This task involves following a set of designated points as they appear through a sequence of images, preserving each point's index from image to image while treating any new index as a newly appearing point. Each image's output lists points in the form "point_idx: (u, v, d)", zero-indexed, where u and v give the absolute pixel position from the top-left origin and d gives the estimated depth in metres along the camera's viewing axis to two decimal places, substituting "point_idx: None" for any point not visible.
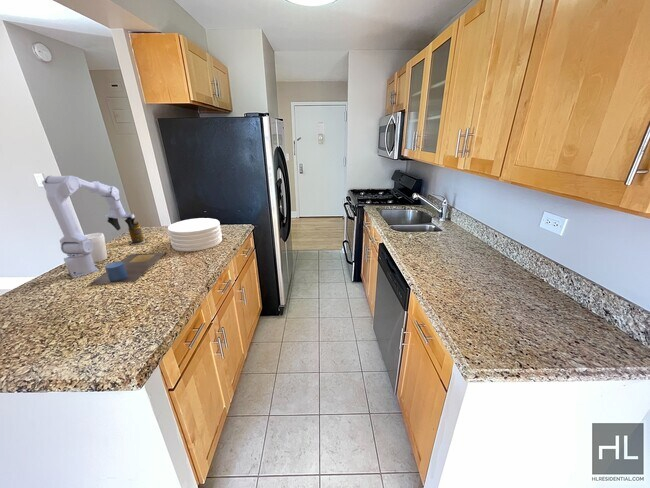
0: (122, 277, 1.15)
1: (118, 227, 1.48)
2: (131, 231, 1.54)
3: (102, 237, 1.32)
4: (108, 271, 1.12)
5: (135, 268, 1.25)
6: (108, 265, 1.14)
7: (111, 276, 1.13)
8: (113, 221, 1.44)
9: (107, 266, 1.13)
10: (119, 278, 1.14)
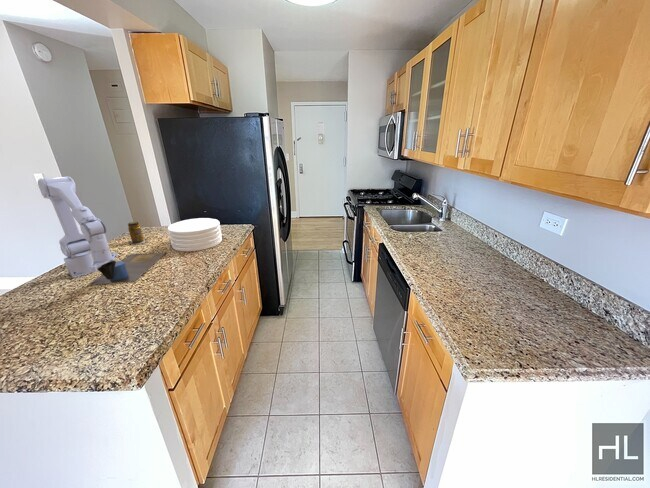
0: (123, 276, 1.16)
1: None
2: (131, 231, 1.54)
3: None
4: None
5: (135, 268, 1.25)
6: None
7: None
8: None
9: None
10: (120, 277, 1.15)
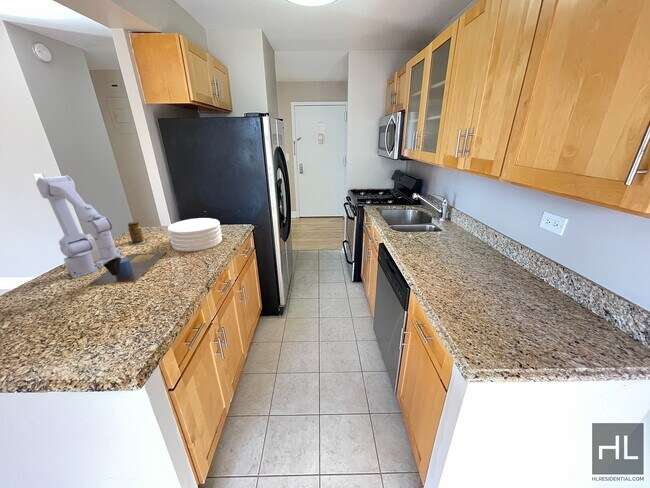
0: (128, 273, 1.19)
1: None
2: (131, 231, 1.54)
3: None
4: None
5: (135, 268, 1.25)
6: None
7: None
8: None
9: None
10: (125, 274, 1.18)
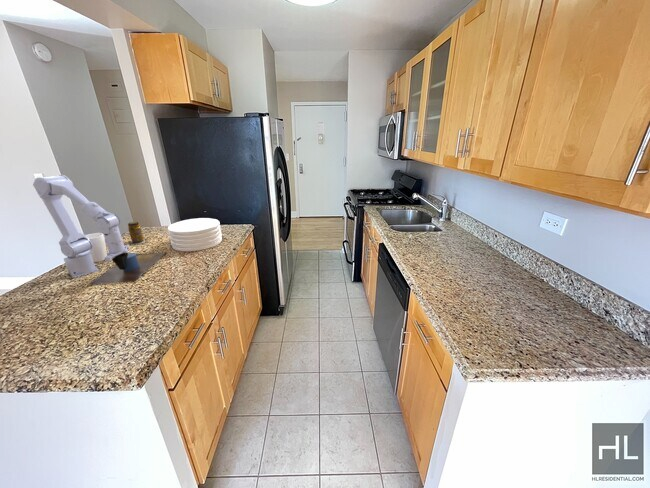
0: (135, 267, 1.24)
1: None
2: (131, 231, 1.54)
3: (102, 237, 1.32)
4: None
5: None
6: None
7: None
8: None
9: None
10: (132, 268, 1.23)
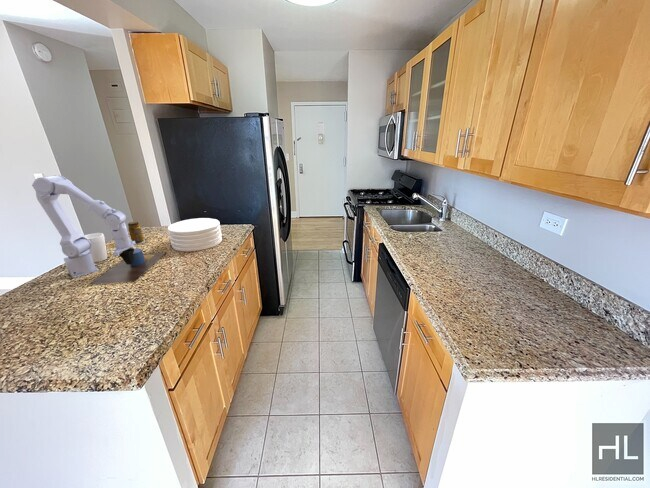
0: (141, 262, 1.29)
1: None
2: (131, 231, 1.54)
3: (102, 237, 1.32)
4: None
5: (135, 268, 1.25)
6: None
7: None
8: None
9: None
10: (139, 263, 1.29)
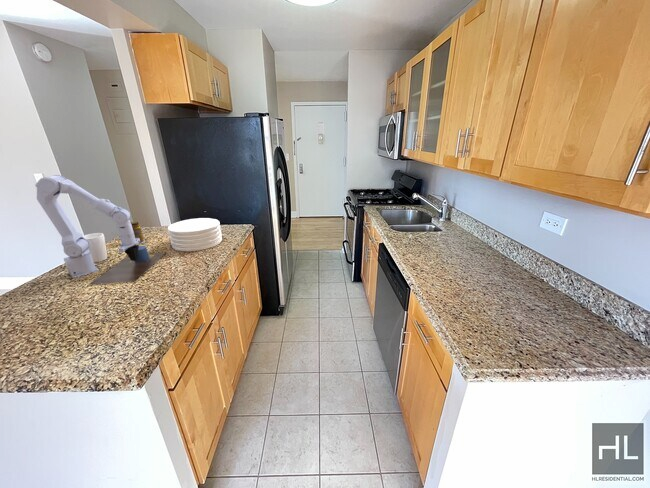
0: (146, 258, 1.33)
1: None
2: None
3: (102, 237, 1.32)
4: None
5: (135, 268, 1.25)
6: None
7: (137, 258, 1.31)
8: None
9: None
10: (144, 259, 1.33)
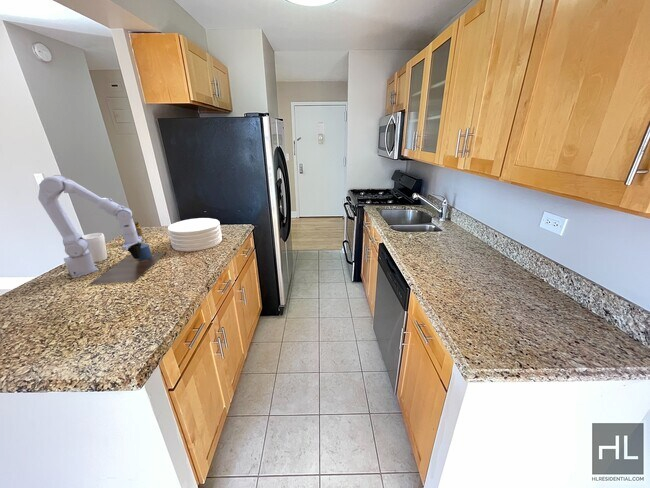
0: (149, 256, 1.36)
1: None
2: None
3: (102, 237, 1.32)
4: None
5: (135, 268, 1.25)
6: None
7: (140, 256, 1.33)
8: None
9: None
10: (146, 257, 1.35)
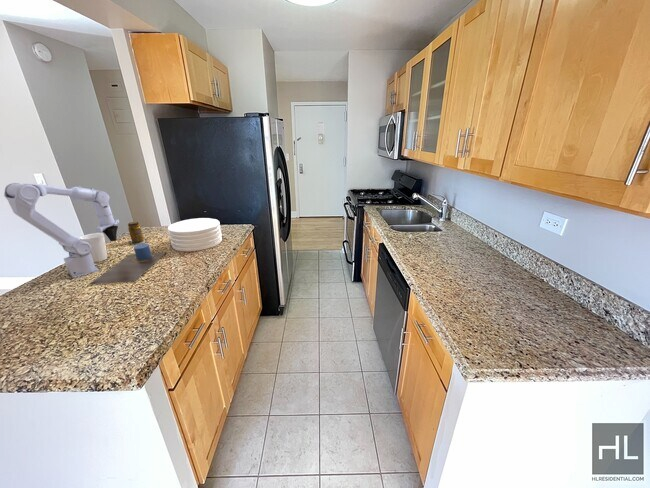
0: (149, 256, 1.36)
1: None
2: (131, 231, 1.54)
3: (102, 237, 1.32)
4: (137, 251, 1.32)
5: (135, 268, 1.25)
6: (136, 247, 1.34)
7: (140, 256, 1.33)
8: None
9: (136, 247, 1.33)
10: (146, 257, 1.35)
